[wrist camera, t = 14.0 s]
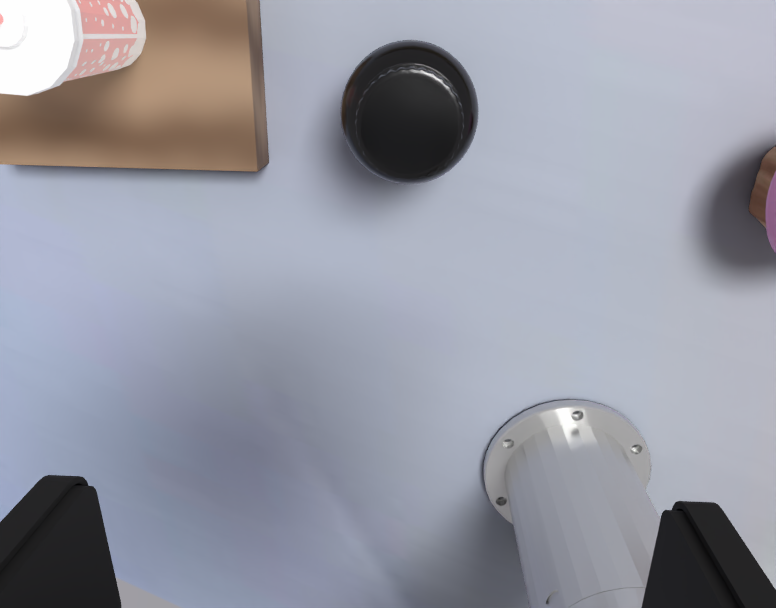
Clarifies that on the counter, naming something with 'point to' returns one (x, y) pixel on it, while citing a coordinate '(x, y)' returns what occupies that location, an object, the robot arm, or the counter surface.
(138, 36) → the beverage cup
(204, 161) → the walnut base
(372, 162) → the supplement bottle
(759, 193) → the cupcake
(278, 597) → the counter surface
